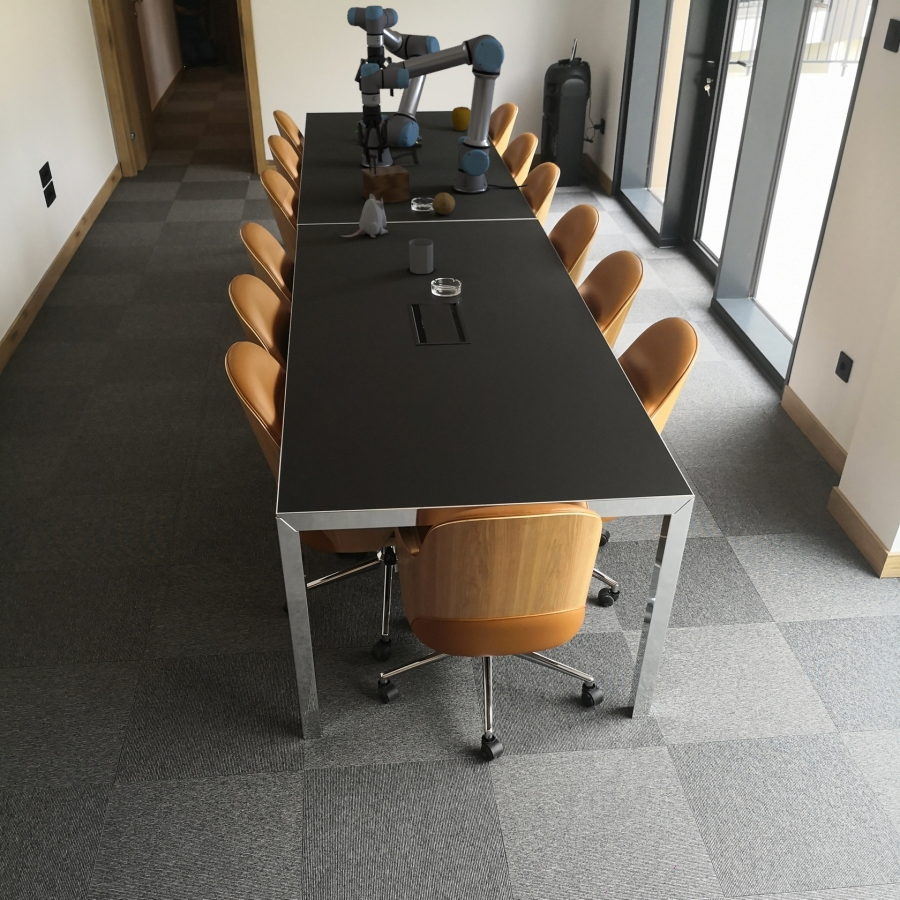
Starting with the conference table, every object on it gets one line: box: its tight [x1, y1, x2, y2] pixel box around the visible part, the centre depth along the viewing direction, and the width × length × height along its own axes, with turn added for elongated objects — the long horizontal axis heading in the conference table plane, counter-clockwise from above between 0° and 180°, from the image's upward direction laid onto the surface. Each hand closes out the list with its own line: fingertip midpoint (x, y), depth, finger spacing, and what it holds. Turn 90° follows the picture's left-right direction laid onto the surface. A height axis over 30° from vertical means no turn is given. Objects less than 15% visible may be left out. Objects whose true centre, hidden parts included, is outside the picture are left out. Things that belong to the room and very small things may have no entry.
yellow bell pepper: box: [451, 105, 471, 132], centre depth 487 cm, size 11×11×13 cm
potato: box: [431, 192, 456, 216], centre depth 360 cm, size 10×14×8 cm
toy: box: [341, 194, 389, 239], centre depth 333 cm, size 9×24×15 cm, turn 137°
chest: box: [362, 172, 411, 205], centre depth 377 cm, size 17×12×11 cm
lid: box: [361, 151, 410, 179], centre depth 372 cm, size 17×12×9 cm
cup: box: [408, 237, 434, 275], centre depth 305 cm, size 8×8×10 cm
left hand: (377, 97), depth 389 cm, fingers open, 13 cm apart
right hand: (374, 162), depth 370 cm, fingers open, 5 cm apart
